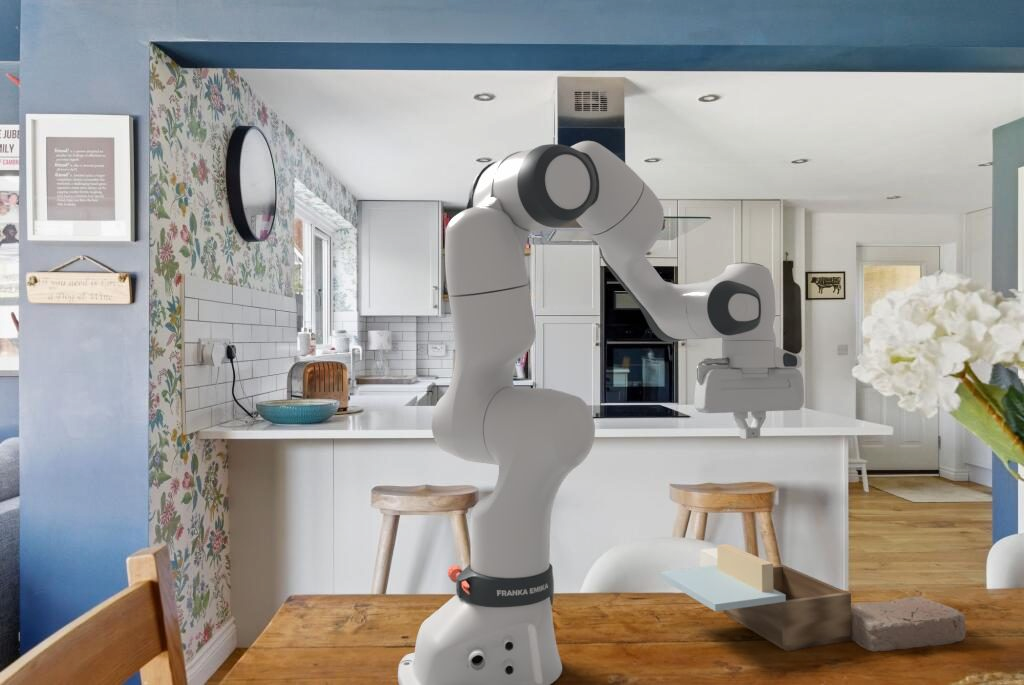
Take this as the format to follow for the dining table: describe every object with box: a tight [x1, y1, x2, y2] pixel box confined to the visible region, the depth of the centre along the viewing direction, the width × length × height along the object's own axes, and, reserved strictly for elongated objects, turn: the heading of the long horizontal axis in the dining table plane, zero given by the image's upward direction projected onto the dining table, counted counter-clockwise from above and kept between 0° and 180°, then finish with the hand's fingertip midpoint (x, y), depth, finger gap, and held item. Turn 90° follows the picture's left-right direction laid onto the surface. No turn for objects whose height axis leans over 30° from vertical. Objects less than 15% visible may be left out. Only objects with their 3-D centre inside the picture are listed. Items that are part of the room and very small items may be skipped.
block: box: [699, 547, 718, 567], centre depth 119 cm, size 4×6×8 cm
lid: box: [659, 543, 786, 612], centre depth 103 cm, size 12×15×5 cm
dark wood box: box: [723, 564, 853, 652], centre depth 106 cm, size 12×15×7 cm
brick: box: [851, 596, 967, 652], centre depth 102 cm, size 17×8×5 cm, turn 101°
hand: (749, 438), depth 114 cm, fingers closed
